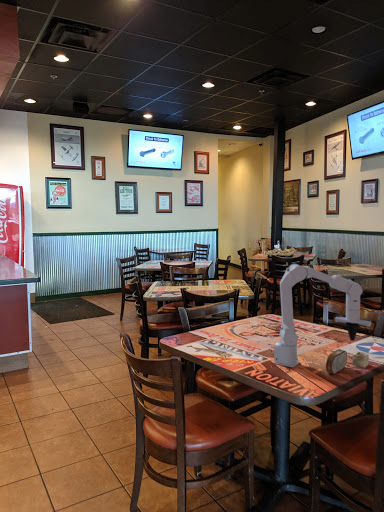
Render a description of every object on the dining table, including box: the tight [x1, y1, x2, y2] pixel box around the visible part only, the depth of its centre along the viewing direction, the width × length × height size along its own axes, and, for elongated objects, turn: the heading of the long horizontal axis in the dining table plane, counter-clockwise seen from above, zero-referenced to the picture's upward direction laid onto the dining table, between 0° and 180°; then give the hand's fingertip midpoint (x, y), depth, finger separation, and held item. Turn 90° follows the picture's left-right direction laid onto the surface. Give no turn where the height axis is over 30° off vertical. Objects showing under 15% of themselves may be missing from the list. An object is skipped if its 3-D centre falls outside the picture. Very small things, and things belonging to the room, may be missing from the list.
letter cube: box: [352, 351, 370, 369], centre depth 168 cm, size 5×5×5 cm
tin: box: [325, 348, 348, 375], centre depth 162 cm, size 15×3×8 cm, turn 134°
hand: (352, 340), depth 170 cm, fingers closed
